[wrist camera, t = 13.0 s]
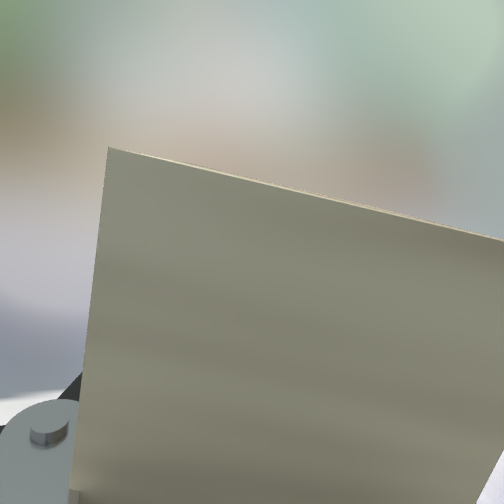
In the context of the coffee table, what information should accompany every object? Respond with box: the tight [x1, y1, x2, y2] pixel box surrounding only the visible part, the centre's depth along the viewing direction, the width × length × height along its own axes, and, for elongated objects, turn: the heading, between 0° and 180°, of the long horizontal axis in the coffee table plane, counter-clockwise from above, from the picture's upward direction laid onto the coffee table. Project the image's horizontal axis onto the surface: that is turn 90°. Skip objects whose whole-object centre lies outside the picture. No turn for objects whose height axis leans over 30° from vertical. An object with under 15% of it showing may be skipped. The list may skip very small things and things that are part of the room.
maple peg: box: [69, 147, 504, 504], centre depth 7 cm, size 5×5×14 cm
